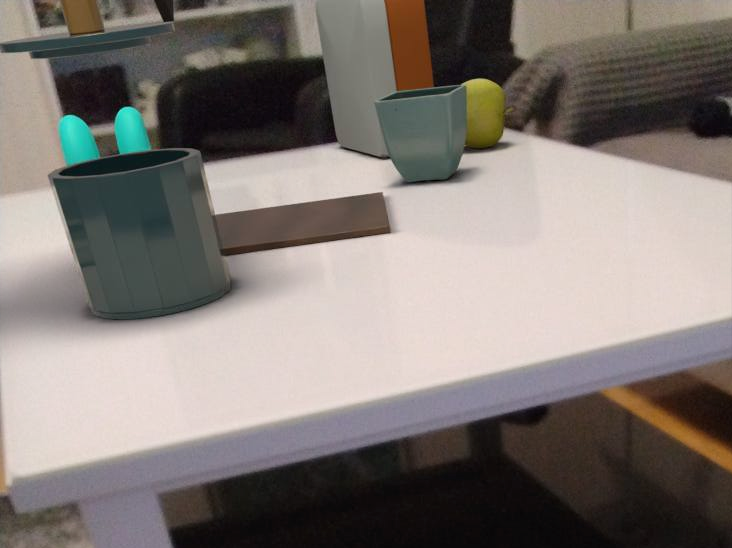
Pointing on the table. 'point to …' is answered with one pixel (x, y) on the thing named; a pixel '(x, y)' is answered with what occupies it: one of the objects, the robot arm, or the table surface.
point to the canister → (142, 232)
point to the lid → (86, 34)
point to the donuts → (82, 143)
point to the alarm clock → (371, 62)
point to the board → (303, 223)
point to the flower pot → (424, 130)
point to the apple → (484, 113)
